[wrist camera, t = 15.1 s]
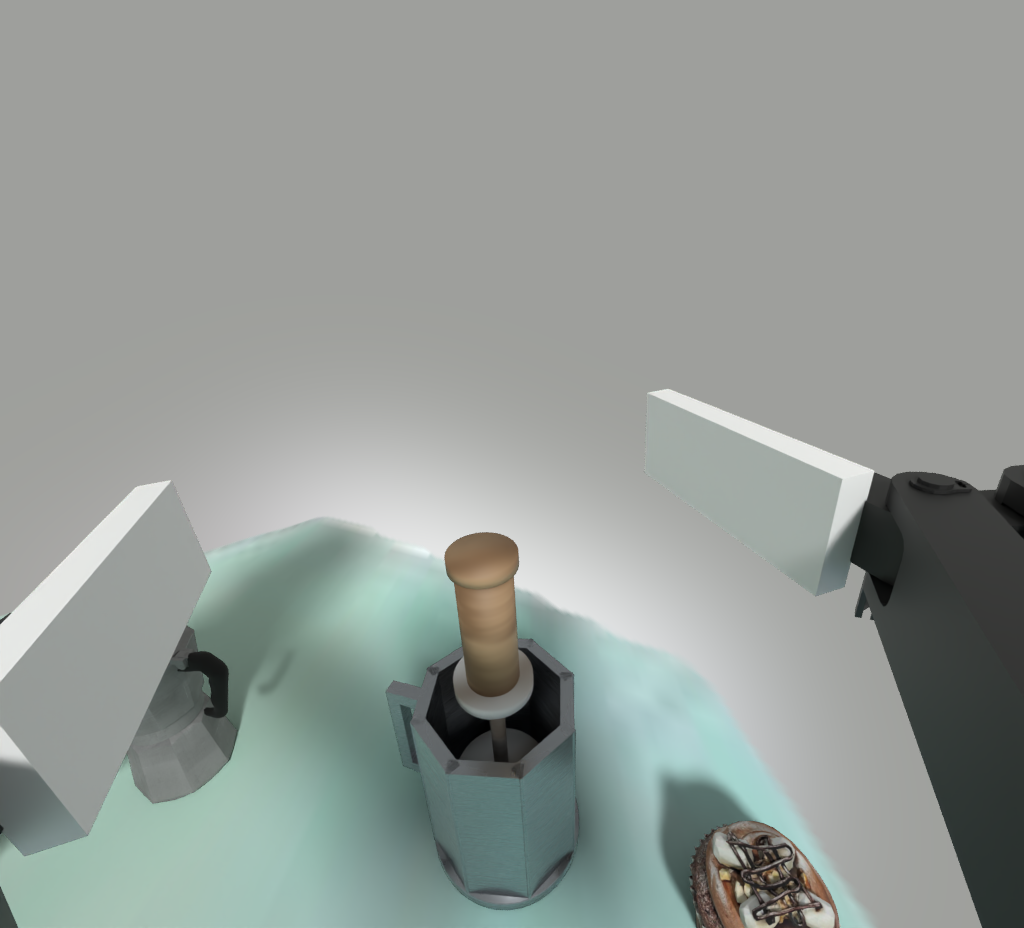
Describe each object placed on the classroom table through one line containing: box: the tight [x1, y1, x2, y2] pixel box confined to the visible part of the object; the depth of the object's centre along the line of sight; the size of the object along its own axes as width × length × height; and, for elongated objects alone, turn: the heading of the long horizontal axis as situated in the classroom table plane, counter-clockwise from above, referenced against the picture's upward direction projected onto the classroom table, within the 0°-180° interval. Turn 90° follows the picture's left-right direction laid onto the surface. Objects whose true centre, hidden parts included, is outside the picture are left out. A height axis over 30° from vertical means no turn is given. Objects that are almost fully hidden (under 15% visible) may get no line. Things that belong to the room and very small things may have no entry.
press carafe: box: [386, 639, 579, 910], centre depth 41 cm, size 16×13×16 cm
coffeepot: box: [127, 625, 237, 803], centre depth 46 cm, size 15×9×18 cm, turn 82°
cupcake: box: [689, 821, 841, 928], centre depth 33 cm, size 10×10×10 cm
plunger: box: [445, 532, 538, 763], centre depth 36 cm, size 8×8×23 cm
